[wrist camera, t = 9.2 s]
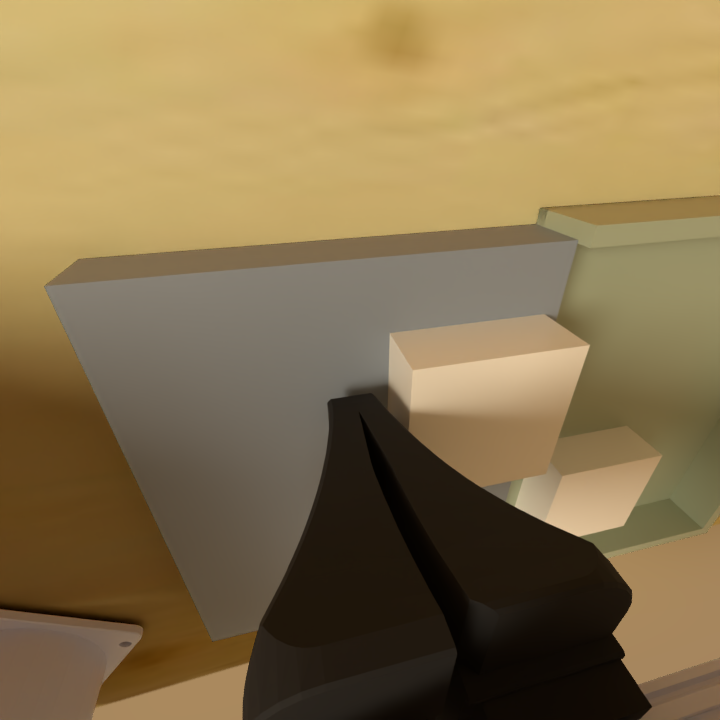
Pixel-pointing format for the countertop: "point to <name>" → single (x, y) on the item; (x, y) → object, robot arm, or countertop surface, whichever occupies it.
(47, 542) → the countertop surface
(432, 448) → the tile
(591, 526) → the tile
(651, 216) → the tray
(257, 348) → the slate plate
